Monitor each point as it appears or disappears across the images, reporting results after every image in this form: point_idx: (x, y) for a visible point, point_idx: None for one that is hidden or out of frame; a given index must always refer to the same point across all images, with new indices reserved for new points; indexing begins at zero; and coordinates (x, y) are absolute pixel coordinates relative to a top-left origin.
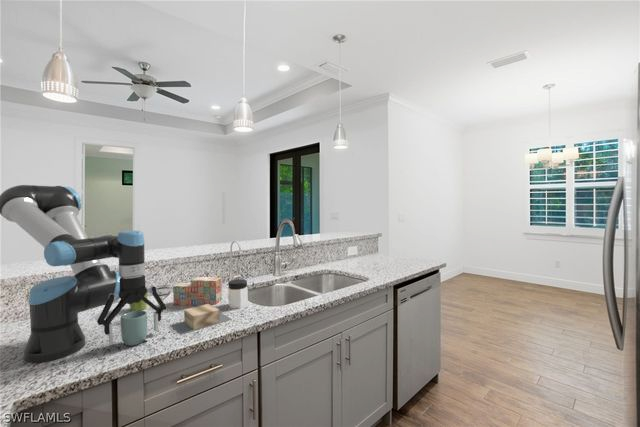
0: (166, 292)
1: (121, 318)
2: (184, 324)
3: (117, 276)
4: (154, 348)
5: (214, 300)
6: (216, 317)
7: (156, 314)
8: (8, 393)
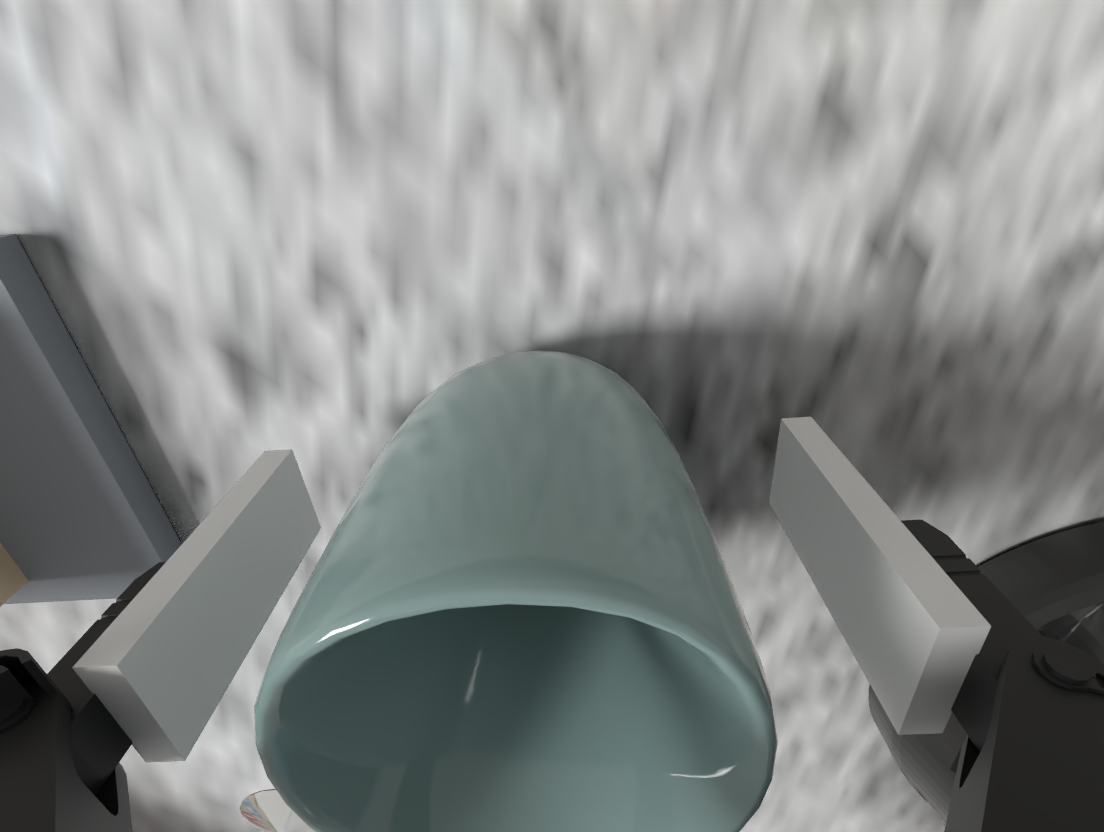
0: None
1: (775, 734)
2: (12, 525)
3: None
4: (340, 110)
5: None
6: None
7: (108, 656)
8: None
